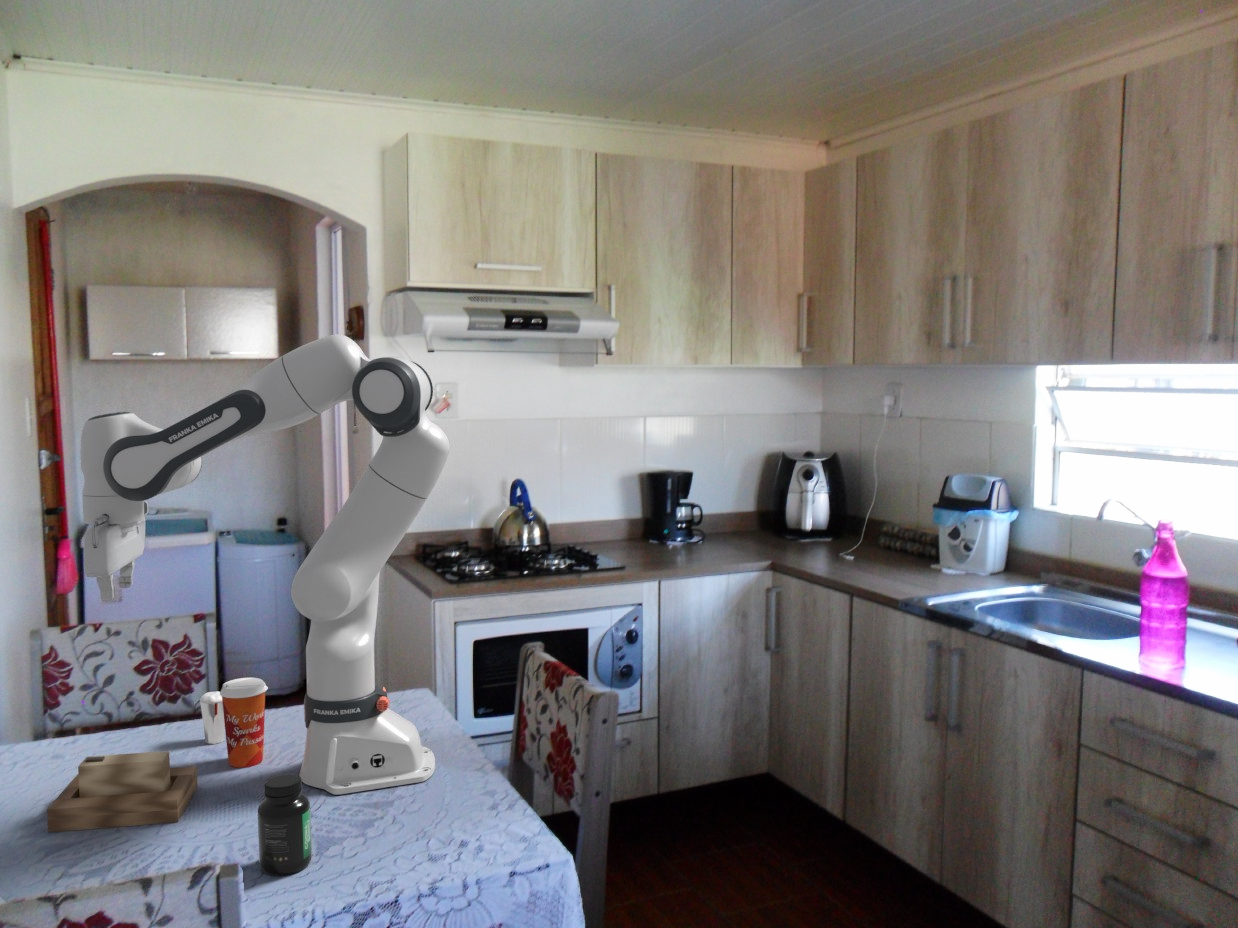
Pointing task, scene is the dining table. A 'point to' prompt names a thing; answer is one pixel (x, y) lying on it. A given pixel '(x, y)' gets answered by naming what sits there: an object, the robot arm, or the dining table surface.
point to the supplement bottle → (284, 826)
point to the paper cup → (244, 720)
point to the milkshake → (213, 717)
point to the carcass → (122, 805)
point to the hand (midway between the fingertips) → (117, 593)
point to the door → (124, 774)
